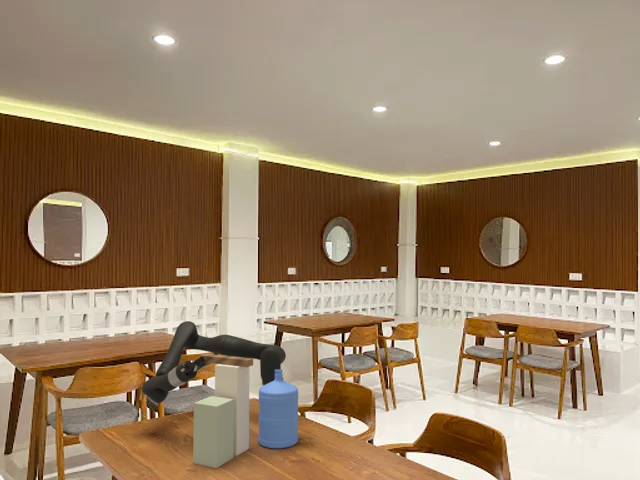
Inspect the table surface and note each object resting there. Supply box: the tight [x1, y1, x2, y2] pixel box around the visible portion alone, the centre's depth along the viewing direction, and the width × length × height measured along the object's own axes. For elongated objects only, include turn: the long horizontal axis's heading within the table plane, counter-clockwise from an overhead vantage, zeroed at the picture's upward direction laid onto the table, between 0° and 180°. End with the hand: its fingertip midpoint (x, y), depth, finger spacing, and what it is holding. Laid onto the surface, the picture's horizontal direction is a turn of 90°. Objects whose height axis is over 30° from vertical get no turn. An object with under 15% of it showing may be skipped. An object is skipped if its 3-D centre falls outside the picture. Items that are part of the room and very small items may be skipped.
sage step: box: [192, 395, 234, 469], centre depth 182 cm, size 10×10×21 cm
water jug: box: [257, 368, 299, 449], centre depth 201 cm, size 16×16×28 cm
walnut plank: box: [199, 353, 254, 368], centre depth 194 cm, size 22×4×2 cm, turn 64°
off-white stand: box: [214, 364, 250, 457], centre depth 192 cm, size 10×8×32 cm
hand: (210, 356), depth 197 cm, fingers open, 8 cm apart
